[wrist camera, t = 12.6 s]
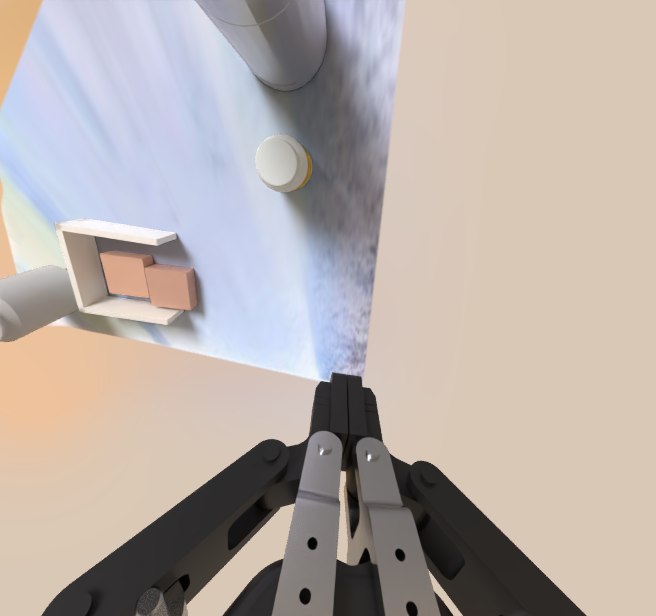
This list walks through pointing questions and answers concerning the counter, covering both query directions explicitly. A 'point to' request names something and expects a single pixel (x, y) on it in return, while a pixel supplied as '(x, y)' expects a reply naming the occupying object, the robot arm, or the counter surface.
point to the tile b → (171, 286)
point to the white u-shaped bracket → (89, 274)
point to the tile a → (126, 272)
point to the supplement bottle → (283, 163)
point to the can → (34, 300)
